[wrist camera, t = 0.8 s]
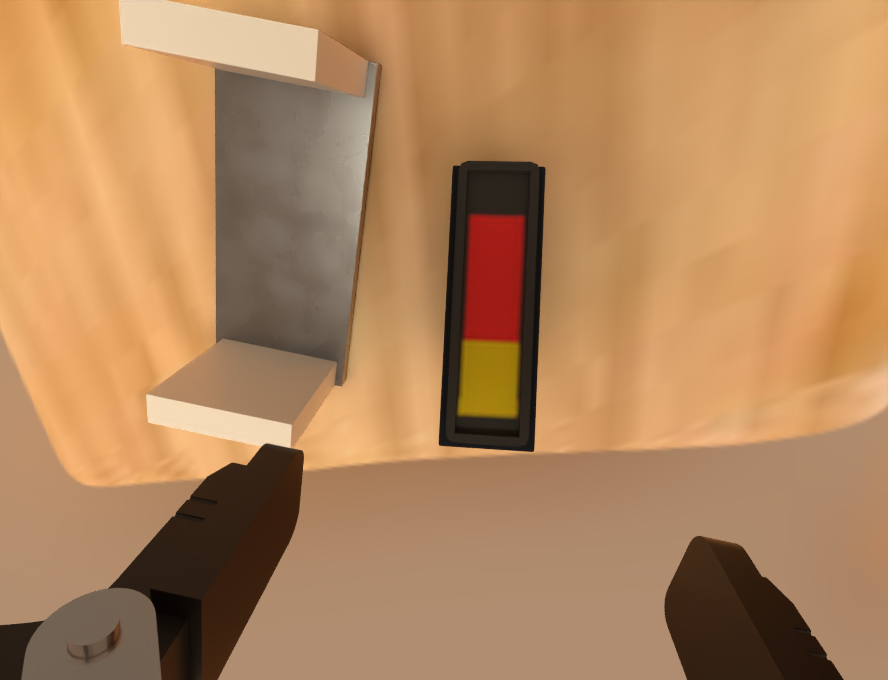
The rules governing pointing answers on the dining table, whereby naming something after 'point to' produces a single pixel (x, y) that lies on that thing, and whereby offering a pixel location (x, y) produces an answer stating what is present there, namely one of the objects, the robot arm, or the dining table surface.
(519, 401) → the magazine
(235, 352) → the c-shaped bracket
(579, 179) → the dining table surface
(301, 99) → the rail plate
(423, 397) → the dining table surface
